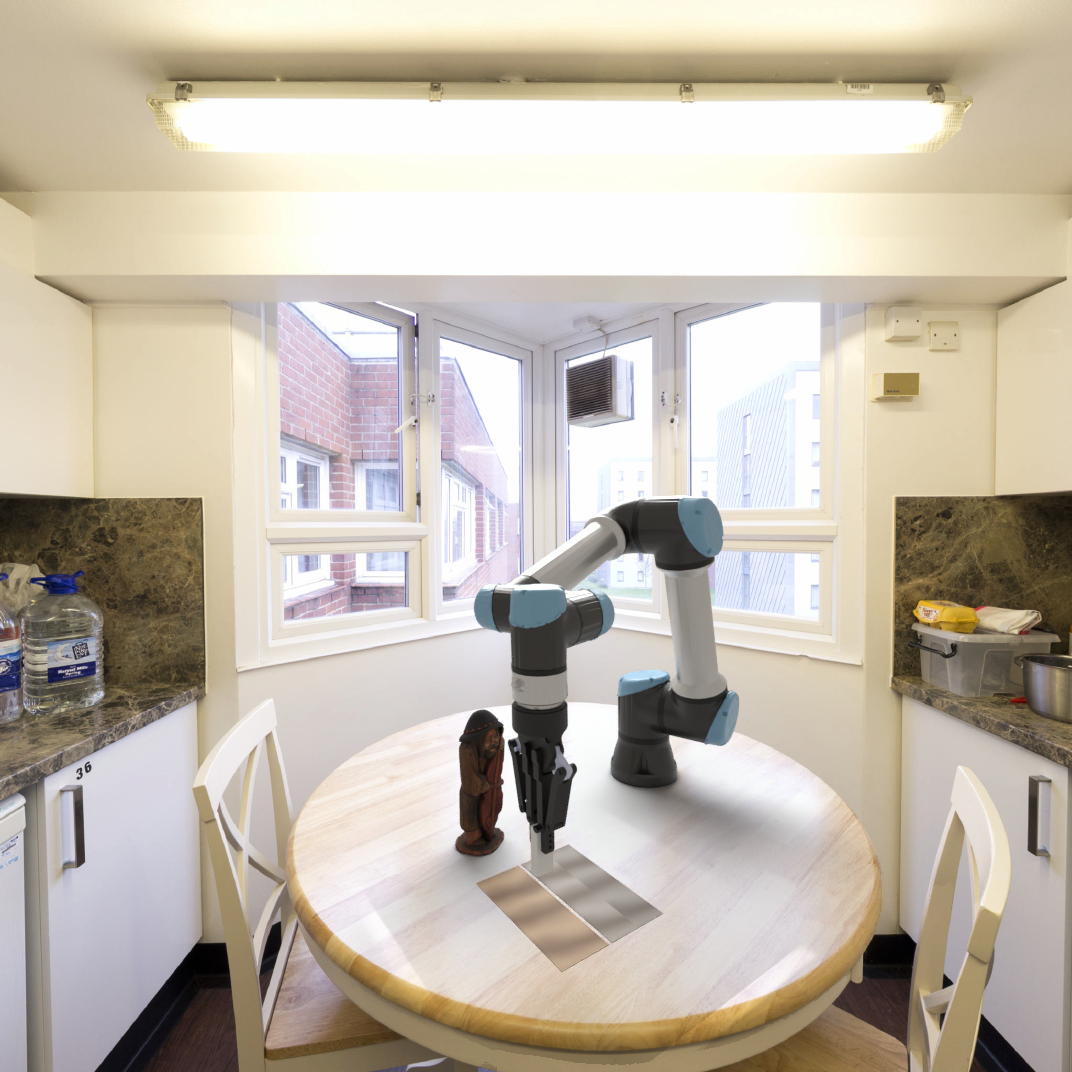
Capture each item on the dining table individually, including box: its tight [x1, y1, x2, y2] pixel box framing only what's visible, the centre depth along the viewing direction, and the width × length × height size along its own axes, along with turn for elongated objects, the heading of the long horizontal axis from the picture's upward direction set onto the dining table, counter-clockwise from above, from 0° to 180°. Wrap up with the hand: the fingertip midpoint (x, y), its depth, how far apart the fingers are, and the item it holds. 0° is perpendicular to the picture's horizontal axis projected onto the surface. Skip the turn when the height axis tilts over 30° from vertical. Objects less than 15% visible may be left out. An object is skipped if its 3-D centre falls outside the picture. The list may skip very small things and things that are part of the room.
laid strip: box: [521, 844, 664, 944], centre depth 91 cm, size 22×10×2 cm, turn 35°
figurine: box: [455, 709, 506, 857], centre depth 103 cm, size 10×8×25 cm
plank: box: [475, 865, 609, 973], centre depth 85 cm, size 22×8×2 cm, turn 35°
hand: (542, 870), depth 79 cm, fingers closed
